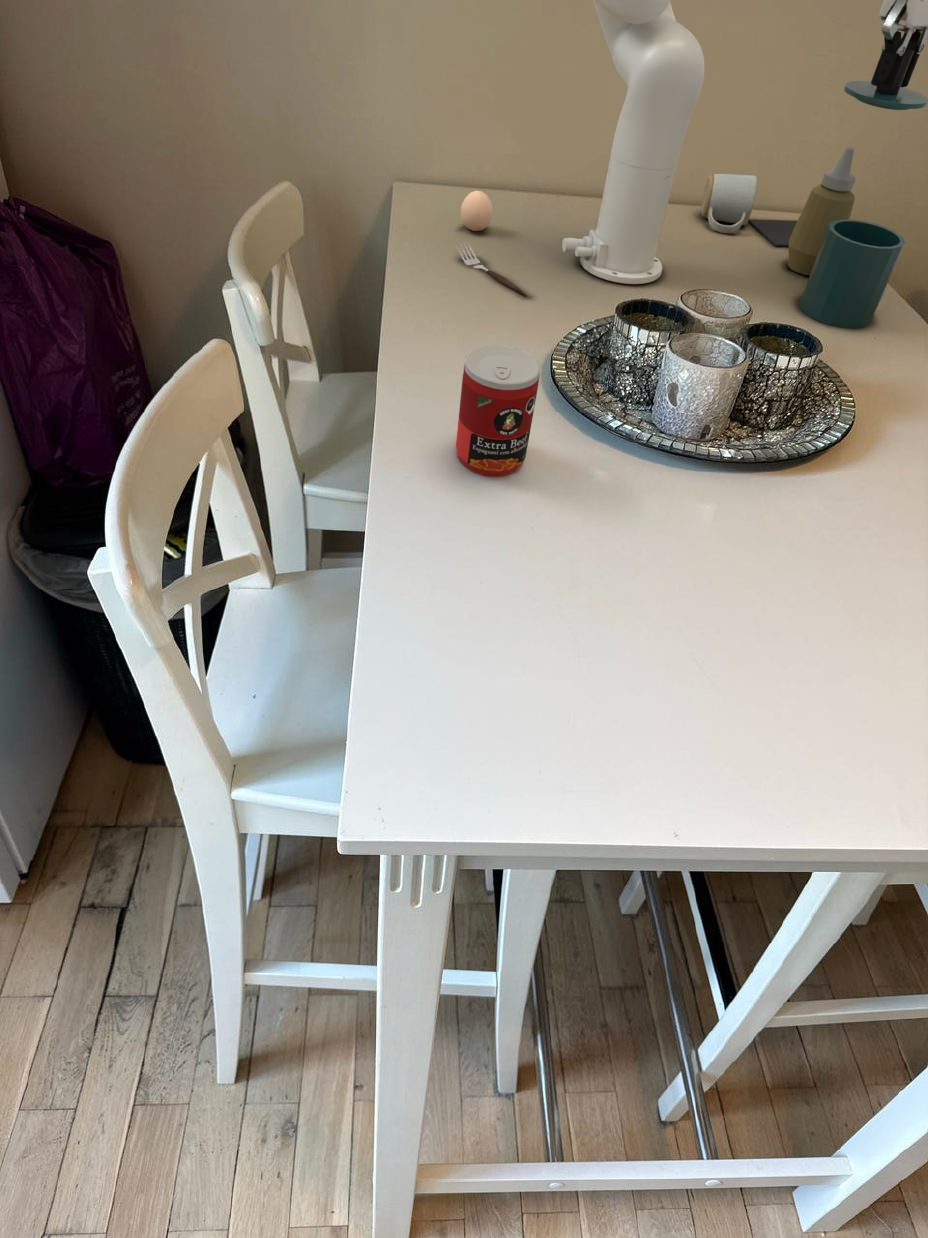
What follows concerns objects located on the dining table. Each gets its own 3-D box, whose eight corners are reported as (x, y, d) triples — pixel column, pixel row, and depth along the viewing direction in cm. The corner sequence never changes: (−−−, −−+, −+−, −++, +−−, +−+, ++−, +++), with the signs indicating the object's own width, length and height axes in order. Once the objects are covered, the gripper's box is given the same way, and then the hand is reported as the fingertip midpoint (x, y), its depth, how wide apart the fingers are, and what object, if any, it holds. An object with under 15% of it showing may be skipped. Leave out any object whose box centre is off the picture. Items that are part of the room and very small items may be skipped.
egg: (492, 226, 143) (496, 188, 139) (488, 238, 139) (492, 199, 135) (461, 221, 143) (465, 183, 139) (456, 233, 139) (460, 194, 135)
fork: (519, 300, 124) (521, 287, 123) (453, 257, 133) (454, 244, 132) (533, 297, 125) (535, 283, 124) (467, 255, 134) (468, 241, 133)
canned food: (465, 480, 91) (477, 385, 84) (446, 438, 97) (455, 345, 89) (535, 475, 93) (552, 381, 86) (512, 433, 99) (526, 342, 91)
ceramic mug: (697, 208, 158) (710, 163, 152) (743, 215, 158) (757, 170, 152) (700, 231, 150) (713, 184, 145) (748, 238, 150) (762, 191, 145)
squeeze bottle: (825, 262, 145) (870, 144, 133) (835, 283, 139) (884, 160, 127) (776, 256, 145) (817, 136, 133) (785, 276, 139) (828, 153, 127)
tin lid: (866, 111, 118) (887, 55, 113) (828, 87, 125) (845, 35, 121) (940, 115, 120) (963, 61, 115) (897, 92, 127) (917, 40, 123)
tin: (820, 328, 127) (852, 247, 119) (787, 296, 134) (816, 218, 126) (884, 327, 129) (919, 248, 121) (848, 296, 136) (879, 219, 128)
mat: (775, 246, 148) (776, 244, 148) (747, 221, 156) (748, 219, 156) (833, 247, 151) (834, 245, 150) (803, 222, 158) (803, 220, 158)
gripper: (955, -88, 115) (894, 73, 127) (891, -90, 106) (832, 83, 119) (1011, -78, 111) (942, 87, 123) (948, -79, 102) (881, 98, 115)
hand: (889, 84), depth 121 cm, fingers closed on tin lid, 3 cm apart
